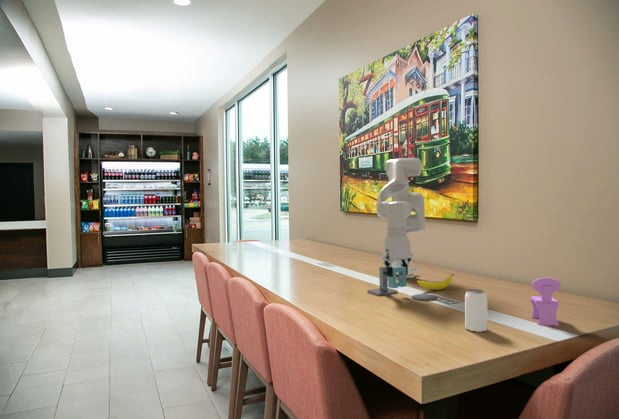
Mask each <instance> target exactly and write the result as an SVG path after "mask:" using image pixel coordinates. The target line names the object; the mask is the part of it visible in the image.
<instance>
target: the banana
mask: <svg viewBox="0 0 619 419" xmlns="http://www.w3.org/2000/svg"><path fill="white" fill-rule="evenodd" d="M454 275H455V274H454V273H452V274H451V275H449V276H448V277H447V278H446V279H444V280H443V281H439V282H427V281H422V280H416V282H417V283H418V284H419V286H421V287H422V288H424V289H427V290H433V291H439V290H443V289H445V288H447V287H448V286H449V285H450V283H451V282H452V279H453V276H454Z"/></svg>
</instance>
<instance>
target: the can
mask: <svg viewBox="0 0 619 419" xmlns="http://www.w3.org/2000/svg"><path fill="white" fill-rule="evenodd" d="M486 292H487V291H486V290H483V289H479V288H478V289H477V288H472V289H471V288H468V289H466V293H465V294H464V324H465V325H464V328H465V329H466V330H467V329H468V330H467V331H469V330H470V332H472V331H476V332H475V333H484V332H483V331H485V332H487V330H488V296H487V294H486Z"/></svg>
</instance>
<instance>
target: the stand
mask: <svg viewBox="0 0 619 419" xmlns="http://www.w3.org/2000/svg"><path fill="white" fill-rule="evenodd" d="M396 277H398V278H402V279H404V278H405V276H402V275H398V274H396ZM398 278H397V279H398ZM398 291H399V290H397V289H395V288H390V287H388V276H387V267H386V266H385V265H383V266H379V288H372V289H367V291H366V292H367V293H368V294H372V295H374V296H378V297H380V296H381V297H382V296H387V295H393V294H398Z"/></svg>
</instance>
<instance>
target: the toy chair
mask: <svg viewBox="0 0 619 419" xmlns="http://www.w3.org/2000/svg"><path fill="white" fill-rule="evenodd" d="M531 285H532V288H533V289H534V290H535V291H536V292H537V293H539V294H540V296H536V295H535V296H534V295H531V296H530V302H531V304H532V307H533V308H532V309H533V310H532V314H531V317H530V318H531V319H538V322H537V326H551V325H555V327H557V326H558V327H559V326H560V323H559V321H558V319H557V311H558V308H559V300H557V299H555V298H554V297H553V293H556V292H557V291H558V290H560V288H561V282H560V281H559V280H558V279H556V278H553V277H550V276H548V277H540V278H536V279H534V280H533V281H532V282H531Z"/></svg>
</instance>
